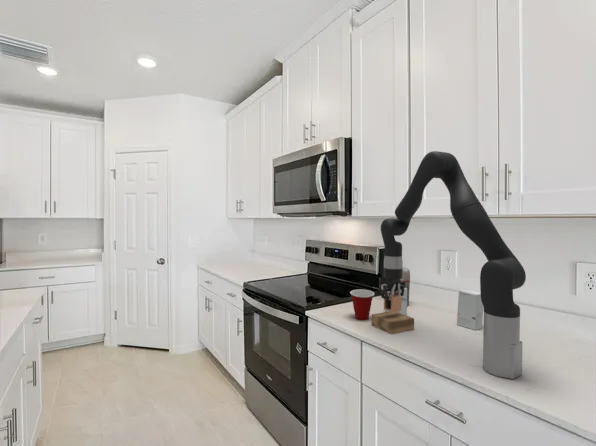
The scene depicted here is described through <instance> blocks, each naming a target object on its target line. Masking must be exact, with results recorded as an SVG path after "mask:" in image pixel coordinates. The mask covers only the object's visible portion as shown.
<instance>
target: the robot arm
mask: <svg viewBox="0 0 596 446" xmlns="http://www.w3.org/2000/svg"><path fill="white" fill-rule="evenodd" d="M433 179H440V180H441V181H442V182H443V183H444V185H445V187H446V189H447V190H448V193H449V207H450V208H449V209H450V213H451V216H452V217H453V219H454V221H455V223H456V225H457V227H458V228H459V230H460V231H461V232H462V233H463V234H464V235H465V236H466V237H467V238H468V239H469V240H470V241H471V242H473V244H475V245H476V246H477V247H478V248H479V249H480V250H481V252H482V253H483V255H484V256H485V258H486V259H487V262H485V263H484V264H483V266H482V267H481V270H480V274H479V285H480V286H479V287H480V288H479V289H480V293H481V301H482V304H483V321H482V328H483V329H482V330H483V331H482V335H483V338H482V340H483V342H482V369H483V371H485V373H488V374H491V375H493V376H495V377H499V378H500V377H501V378H505V379H511V380H515V379H517V378H518V377H519V376H521V375H522V374H523V341H521V340H520V337H521V336H520V335H521V329H520V328H521V308H520V306H519V305H518V304H517V303H515V302H514V301H515V300H514V292H513V291H514V290H516V289H517V290H518V289H520V288H521V287H523V286H524V284H525V282H526V279H527V276H526V270H525V269H524V266H523V265H522V264H521V262H520V261H519V260H518V258H517V257H516V255H515V254H514V253H513V252H512V250H510V248H509V246H508V245H507V243H506V242H505V241H504V239H503V238H502V236H501V235H500V233H499V231H498V229H497V228H496V226H495V225H494V223H493V221H492V220H491V218H490V216H489V215H488V213H487V211H486V209H485V208H484V206H483V204H482V202H480V200H479V198H478V197H477V195H476V194H475V192H474V191H473V189H472V186H471V185H470V184H469V182H468V181H467V179H466V177H465V174H464V172H463V169H462V167H461V166H460V163H459V162H458V159H457V157H456V156H454V155H453V154H452V153H450V152H446V151H445V152H444V151H437V150H434V151H429V152H427V153H426V154H425V155H424V156H423V158H422V160H421V161H420V164H419V166H418V168H417V170H416V173H415V174H414V176H413V178H412V181H411V183H410V185H409V187H408V189H407V191H406V193H405V195H403V197H402V199H401V200H400V201H399V203H398V204H397V206H396V208H395V209H394V215H395V216H396V218H385V219H384V220H382V222H381V225H380V232H381V234H380V235H381V238H382V240H383V241H382V242H383V245H384V253H383V254H384V258H383V278H384V279H385V281H384V283H383V284H379V290H380V296H381V299H383V300H384V299H385V307H386V309H391V297H392V295H393V293H394V294H395V295H399V296H403V295H404V289H405V282H402V281H401V280H400V279H402V273H403V267H404V266H403V244H402V242H401V241H397V240H396V238H395V236H396V237H399V236H402V235H404V234H405V233H406V232H407V231H408V228H409V225H410V222H411V220H412V218H413V216H414V215H415V213H416V212H417V211H418V210H419V208H420V206H421V205H422V202H423V197H424V195H423V194H424V191H425V189H426V187H427V186H428V184H429V183H430V182H431V181H432V180H433ZM401 290H402V291H401ZM388 291H390V292H388ZM400 292H401V293H400ZM388 294H389V297H388ZM384 295H385V296H384Z"/></svg>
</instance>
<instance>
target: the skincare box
mask: <svg viewBox="0 0 596 446" xmlns="http://www.w3.org/2000/svg"><path fill="white" fill-rule="evenodd" d="M457 298H458V300H457V314H456V325H457V326H460V327H464V328H466V329H469V330H470V329H471V330H472V331H473V330H474V331H476V330H480V328H481V329H482V328H483V322H484V306H483V304H482V301H481V292H479V291H474V290H471V289H461V290H460V289H459V290H458V297H457Z"/></svg>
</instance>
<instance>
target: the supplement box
mask: <svg viewBox="0 0 596 446" xmlns="http://www.w3.org/2000/svg"><path fill="white" fill-rule="evenodd" d="M401 291H402V290H401ZM388 292H390V291H388ZM400 293H401V292H400ZM393 294H394V293H393ZM407 309H408V306H407V288H405V289H404V295H403V296H401V311H397V312H398V313H400V314H403V315H406V316H408V315H407V312H408V310H407ZM385 312H390V311H387V310H385Z"/></svg>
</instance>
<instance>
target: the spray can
mask: <svg viewBox="0 0 596 446" xmlns="http://www.w3.org/2000/svg"><path fill="white" fill-rule="evenodd" d="M410 270H411V269H410V268H409V267H406V266H403V273H402V279H400V280H401V281H402V282H405V288H407V307H408V306H409V304H410V289H411V288H410V286H411V271H410Z"/></svg>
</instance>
